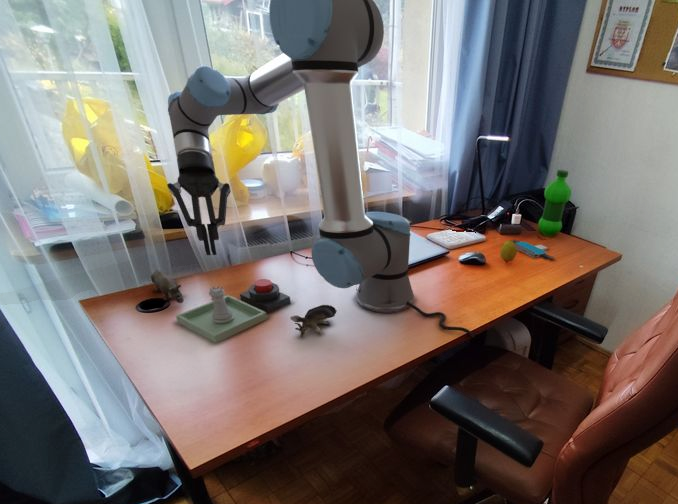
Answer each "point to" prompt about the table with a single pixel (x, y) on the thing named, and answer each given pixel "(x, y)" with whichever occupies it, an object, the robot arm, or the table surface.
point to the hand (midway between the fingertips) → (211, 252)
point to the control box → (265, 299)
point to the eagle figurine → (314, 318)
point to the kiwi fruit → (508, 251)
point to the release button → (263, 285)
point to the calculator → (455, 238)
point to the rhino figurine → (166, 285)
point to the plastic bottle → (554, 204)
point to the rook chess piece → (220, 306)
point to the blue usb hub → (532, 250)
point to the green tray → (215, 332)
